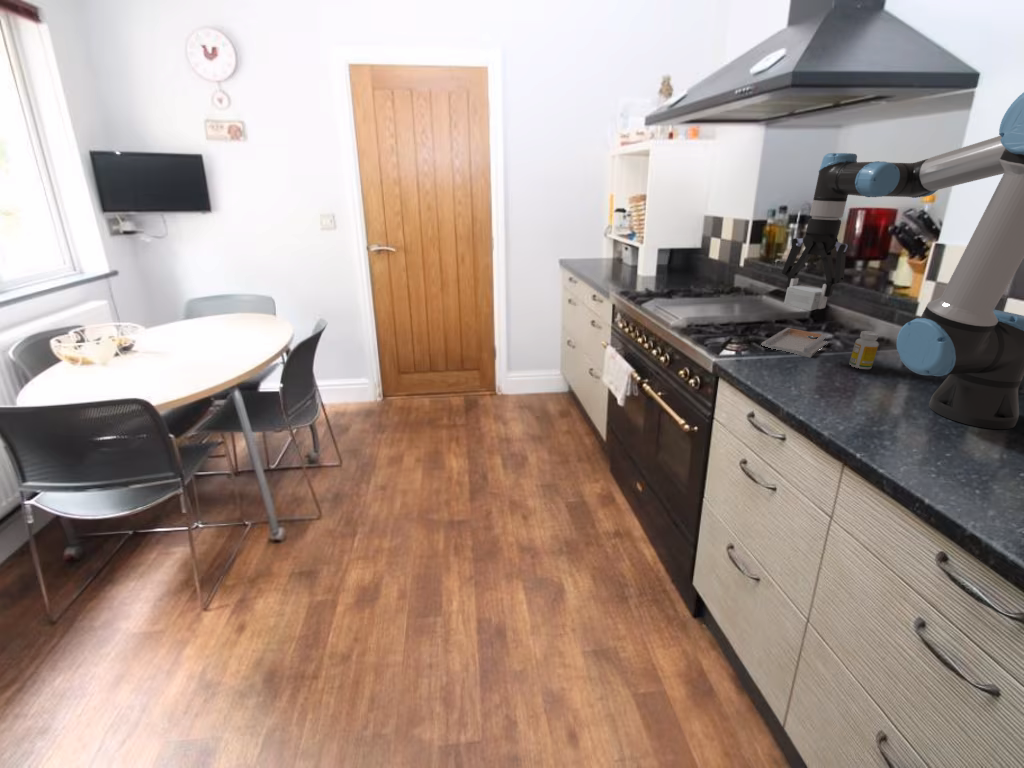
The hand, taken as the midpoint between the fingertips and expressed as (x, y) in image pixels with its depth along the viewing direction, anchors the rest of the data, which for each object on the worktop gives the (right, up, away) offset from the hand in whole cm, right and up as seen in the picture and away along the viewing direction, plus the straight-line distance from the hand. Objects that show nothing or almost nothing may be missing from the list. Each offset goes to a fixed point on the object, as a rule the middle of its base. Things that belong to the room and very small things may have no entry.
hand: (805, 304), depth 147 cm
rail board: (+7, -10, +18) cm, 21 cm away
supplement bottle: (+15, -17, 0) cm, 23 cm away
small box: (0, -1, 0) cm, 1 cm away
